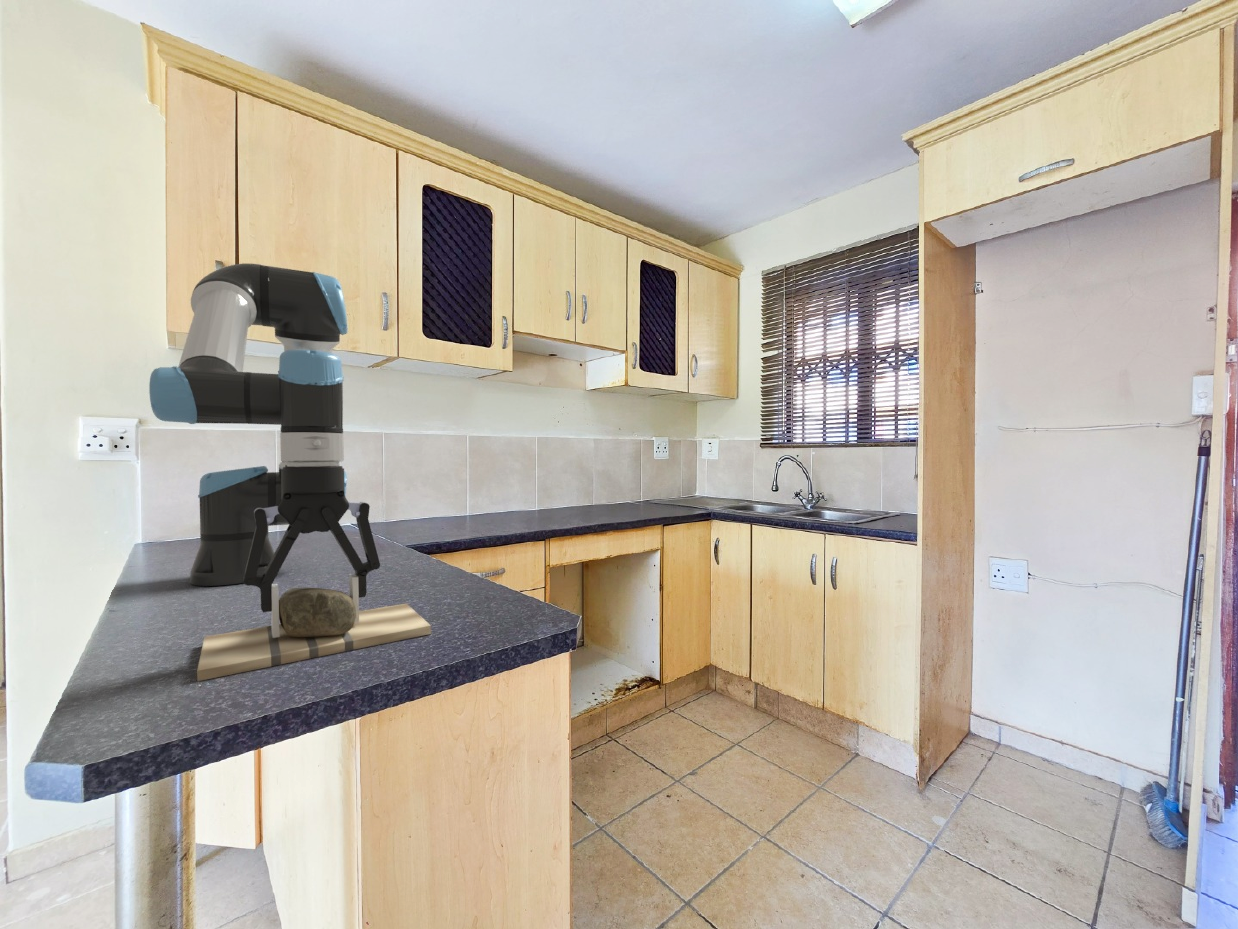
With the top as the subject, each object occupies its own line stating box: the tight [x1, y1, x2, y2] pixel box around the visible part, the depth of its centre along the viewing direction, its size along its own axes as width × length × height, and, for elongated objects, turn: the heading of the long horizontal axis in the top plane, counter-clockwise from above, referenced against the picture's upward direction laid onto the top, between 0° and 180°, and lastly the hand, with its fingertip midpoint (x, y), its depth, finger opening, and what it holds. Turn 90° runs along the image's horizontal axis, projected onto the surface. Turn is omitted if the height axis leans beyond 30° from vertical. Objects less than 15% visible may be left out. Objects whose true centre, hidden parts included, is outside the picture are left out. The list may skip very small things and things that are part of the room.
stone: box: [279, 586, 356, 637], centre depth 73 cm, size 9×14×10 cm, turn 35°
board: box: [196, 603, 432, 682], centre depth 73 cm, size 14×26×1 cm, turn 126°
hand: (316, 627), depth 72 cm, fingers closed on stone, 9 cm apart
